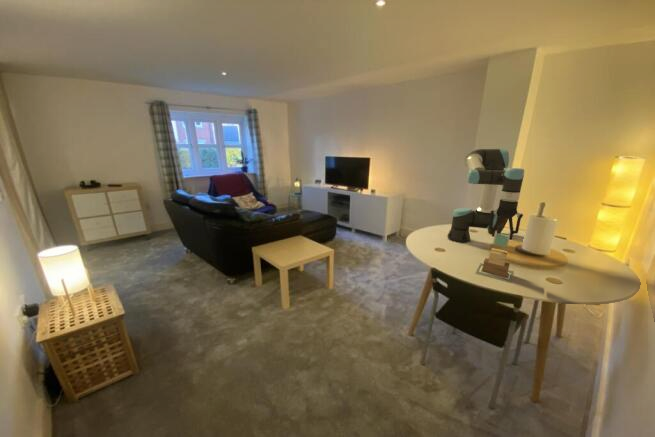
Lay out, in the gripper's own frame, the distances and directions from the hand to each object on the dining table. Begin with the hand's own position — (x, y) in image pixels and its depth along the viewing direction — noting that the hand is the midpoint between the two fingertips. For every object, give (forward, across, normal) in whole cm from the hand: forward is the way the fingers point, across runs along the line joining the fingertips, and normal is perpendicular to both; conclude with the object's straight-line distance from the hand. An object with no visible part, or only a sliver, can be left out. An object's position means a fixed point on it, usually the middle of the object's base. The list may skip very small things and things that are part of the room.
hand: (500, 243), depth 133 cm
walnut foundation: (+17, 0, 0) cm, 17 cm away
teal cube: (0, 0, 0) cm, 0 cm away
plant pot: (+18, -9, +77) cm, 80 cm away
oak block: (+11, 0, 0) cm, 11 cm away
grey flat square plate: (+18, 0, 0) cm, 18 cm away
